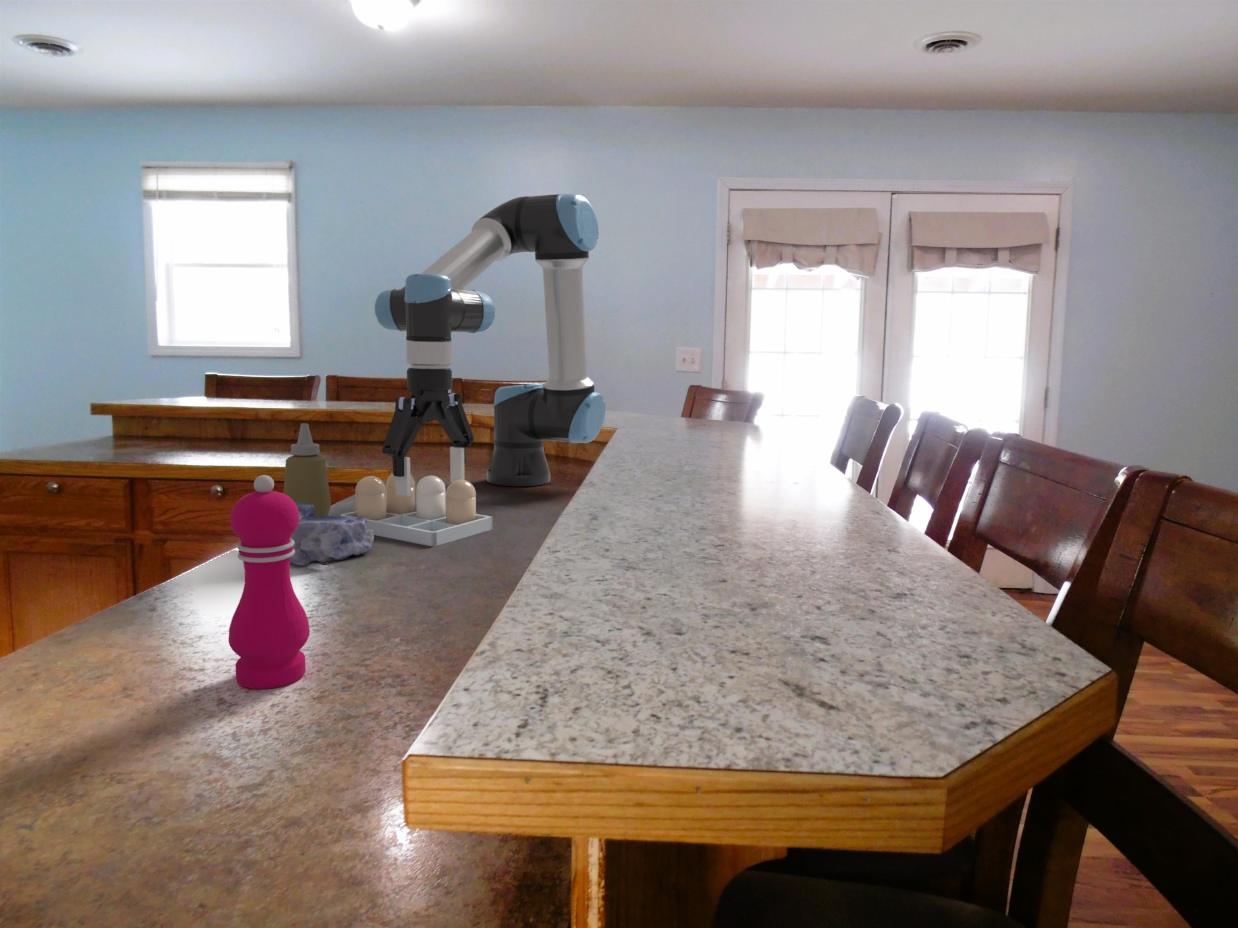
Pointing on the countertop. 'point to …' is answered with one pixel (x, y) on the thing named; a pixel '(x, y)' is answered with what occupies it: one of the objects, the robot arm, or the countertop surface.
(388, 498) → the brown egg
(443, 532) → the carton
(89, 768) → the countertop surface
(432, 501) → the egg
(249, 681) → the pepper mill
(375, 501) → the brown egg
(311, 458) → the squeeze bottle
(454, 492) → the brown egg
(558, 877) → the countertop surface
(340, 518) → the mineral
